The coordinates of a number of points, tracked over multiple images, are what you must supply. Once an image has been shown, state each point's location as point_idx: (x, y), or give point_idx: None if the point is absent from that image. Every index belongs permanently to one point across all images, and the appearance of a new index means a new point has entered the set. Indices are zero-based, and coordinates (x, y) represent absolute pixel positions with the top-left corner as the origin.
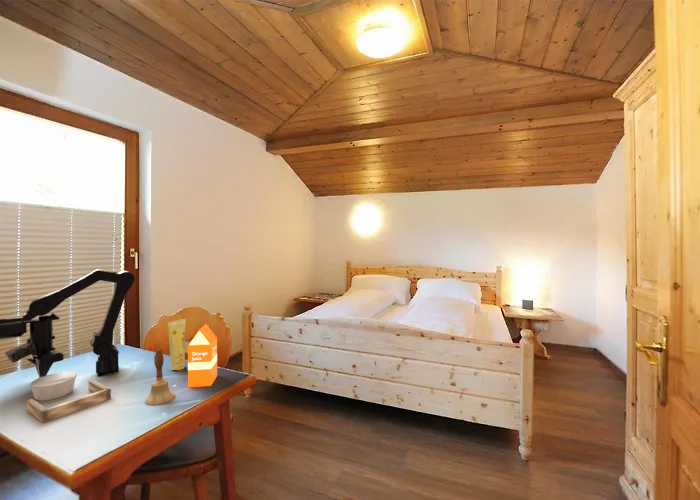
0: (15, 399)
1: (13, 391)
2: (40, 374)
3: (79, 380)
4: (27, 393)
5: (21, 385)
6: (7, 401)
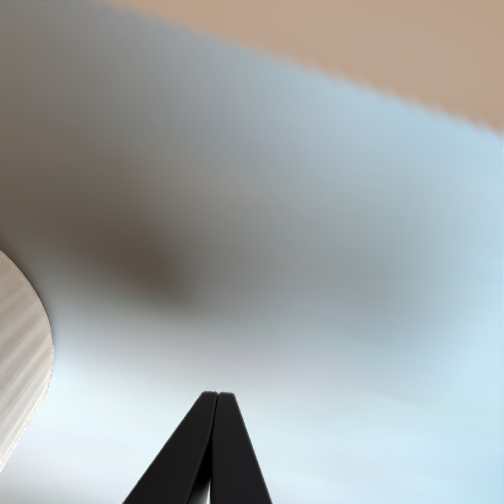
0: (53, 82)
1: (351, 161)
2: (162, 453)
3: (110, 486)
4: (146, 212)
5: (455, 263)
6: (56, 3)
